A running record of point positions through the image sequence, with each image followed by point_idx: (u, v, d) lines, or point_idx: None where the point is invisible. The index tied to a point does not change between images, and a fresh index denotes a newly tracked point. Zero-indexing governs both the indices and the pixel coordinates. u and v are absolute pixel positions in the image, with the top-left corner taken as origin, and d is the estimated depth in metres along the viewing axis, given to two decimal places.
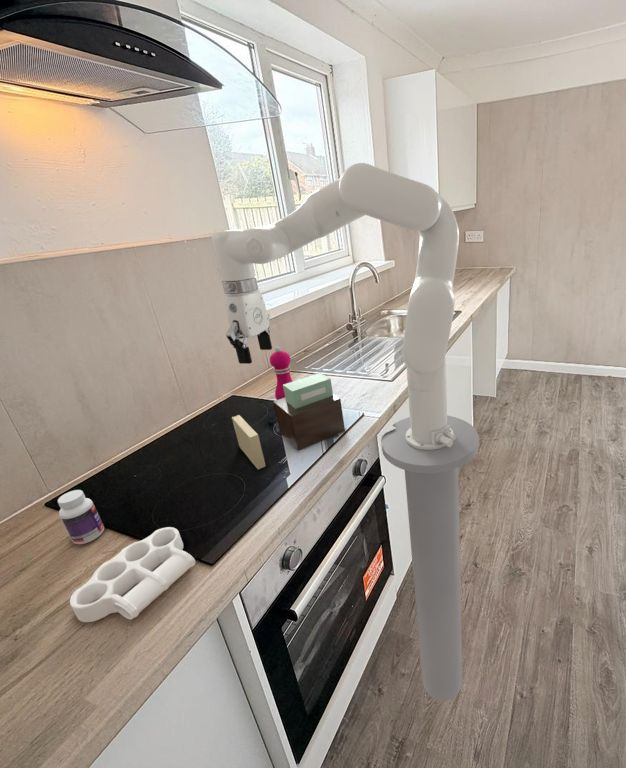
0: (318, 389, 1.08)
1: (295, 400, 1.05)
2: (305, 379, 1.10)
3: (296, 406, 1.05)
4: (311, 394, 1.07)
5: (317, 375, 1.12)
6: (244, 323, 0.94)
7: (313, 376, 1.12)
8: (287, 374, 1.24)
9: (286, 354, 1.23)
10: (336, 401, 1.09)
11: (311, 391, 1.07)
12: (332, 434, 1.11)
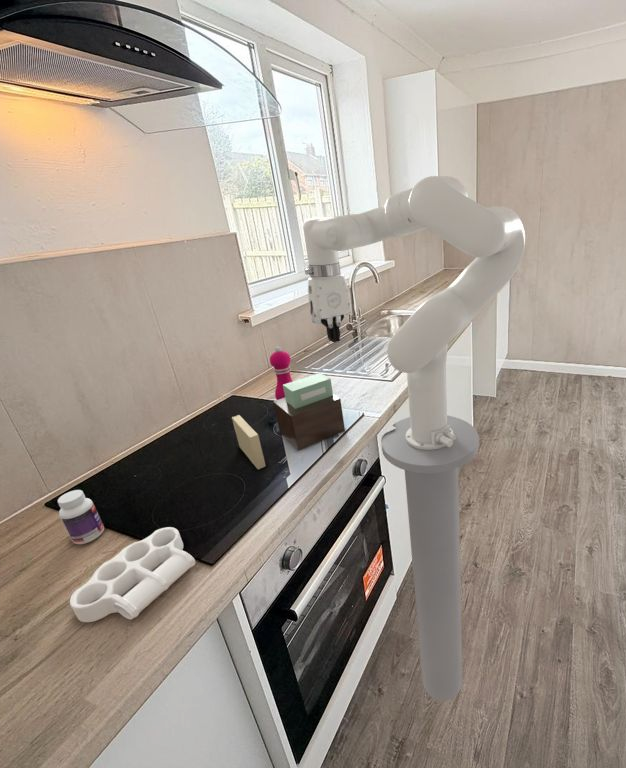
0: (318, 389, 1.08)
1: (295, 400, 1.05)
2: (305, 379, 1.10)
3: (296, 406, 1.05)
4: (311, 394, 1.07)
5: (317, 375, 1.12)
6: (315, 305, 1.02)
7: (313, 376, 1.12)
8: (287, 374, 1.24)
9: (286, 354, 1.23)
10: (336, 401, 1.09)
11: (311, 391, 1.07)
12: (332, 434, 1.11)
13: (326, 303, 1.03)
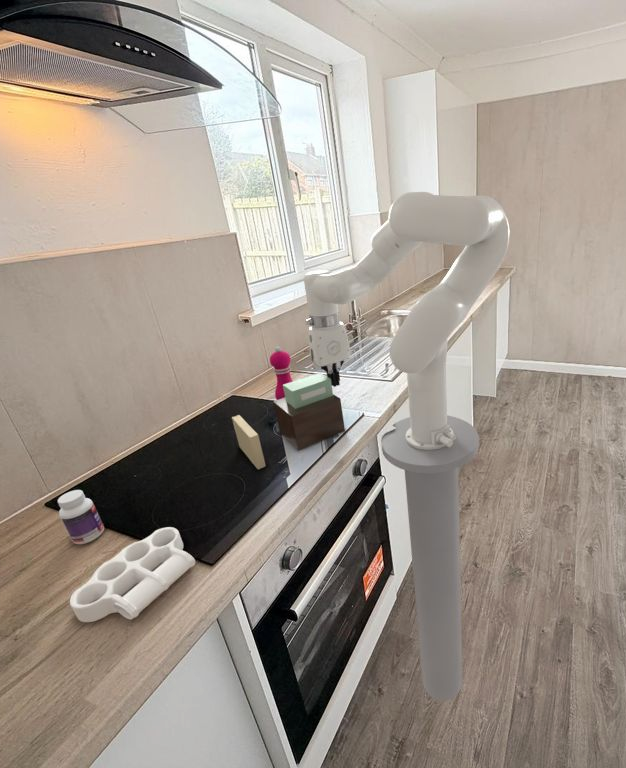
0: (318, 389, 1.08)
1: (295, 400, 1.05)
2: (305, 379, 1.10)
3: (296, 406, 1.05)
4: (311, 394, 1.07)
5: (317, 375, 1.12)
6: (316, 353, 1.06)
7: (313, 376, 1.12)
8: (287, 374, 1.24)
9: (286, 354, 1.23)
10: (336, 401, 1.09)
11: (311, 391, 1.07)
12: (332, 434, 1.11)
13: (326, 351, 1.07)
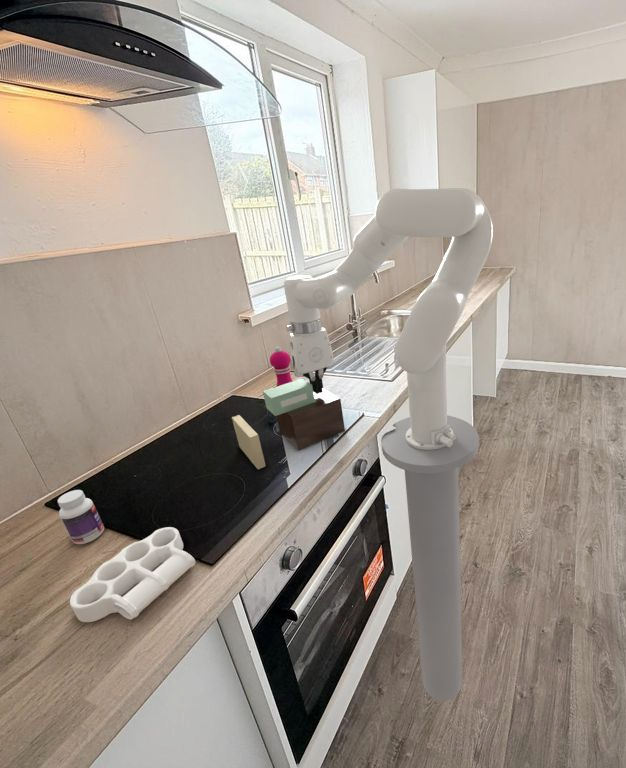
0: (299, 395, 1.05)
1: (275, 407, 1.02)
2: (286, 385, 1.07)
3: (276, 413, 1.02)
4: (292, 401, 1.04)
5: (299, 381, 1.09)
6: (297, 360, 1.03)
7: (294, 382, 1.09)
8: (287, 374, 1.24)
9: (286, 354, 1.23)
10: (336, 401, 1.09)
11: (291, 397, 1.04)
12: (332, 434, 1.11)
13: (308, 358, 1.04)
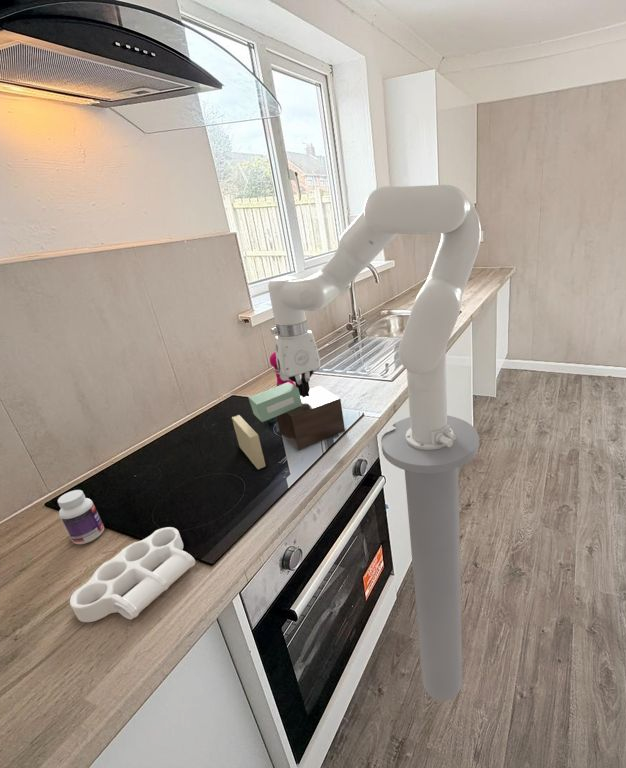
0: (285, 399, 1.03)
1: (261, 413, 1.00)
2: (272, 390, 1.05)
3: (262, 419, 1.01)
4: (278, 406, 1.02)
5: (285, 385, 1.07)
6: (282, 364, 1.01)
7: (281, 386, 1.07)
8: None
9: None
10: (336, 401, 1.09)
11: (277, 402, 1.02)
12: (332, 434, 1.11)
13: (293, 361, 1.02)
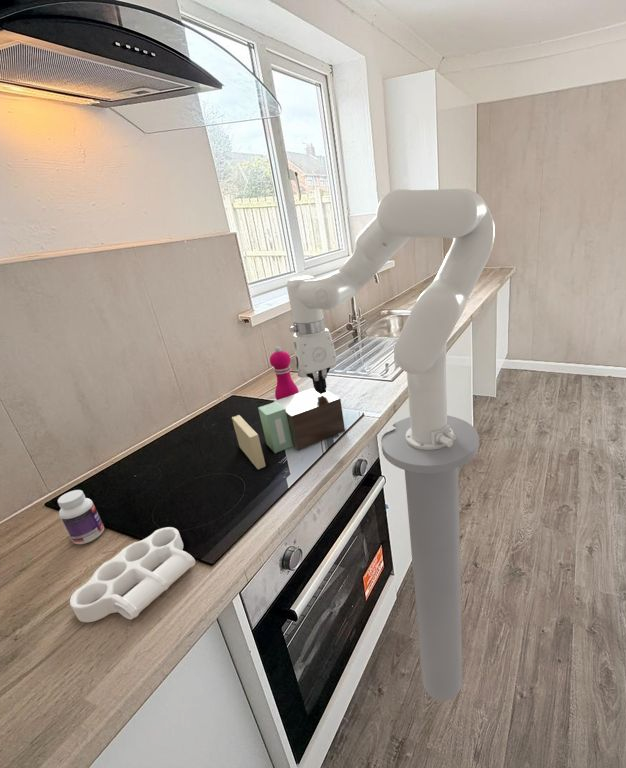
0: (276, 427, 1.04)
1: (284, 448, 1.07)
2: (263, 426, 1.07)
3: (290, 445, 1.08)
4: (281, 433, 1.05)
5: (260, 414, 1.05)
6: (300, 361, 1.03)
7: (261, 417, 1.06)
8: (287, 374, 1.24)
9: (286, 354, 1.23)
10: (336, 401, 1.09)
11: (277, 434, 1.04)
12: (332, 434, 1.11)
13: (311, 358, 1.04)
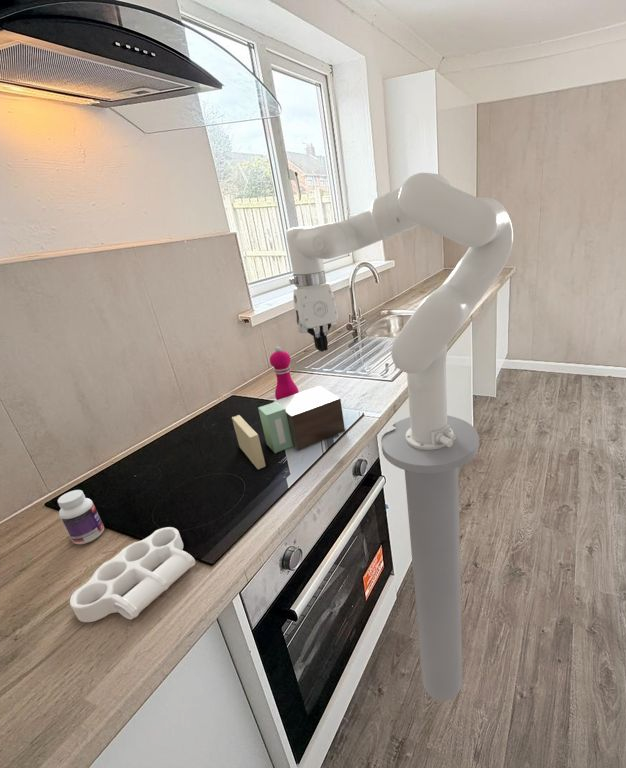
0: (276, 427, 1.04)
1: (284, 448, 1.07)
2: (263, 426, 1.07)
3: (290, 445, 1.08)
4: (281, 433, 1.05)
5: (260, 414, 1.05)
6: (301, 314, 1.01)
7: (261, 417, 1.06)
8: (287, 374, 1.24)
9: (286, 354, 1.23)
10: (336, 401, 1.09)
11: (277, 434, 1.04)
12: (332, 434, 1.11)
13: (312, 312, 1.02)
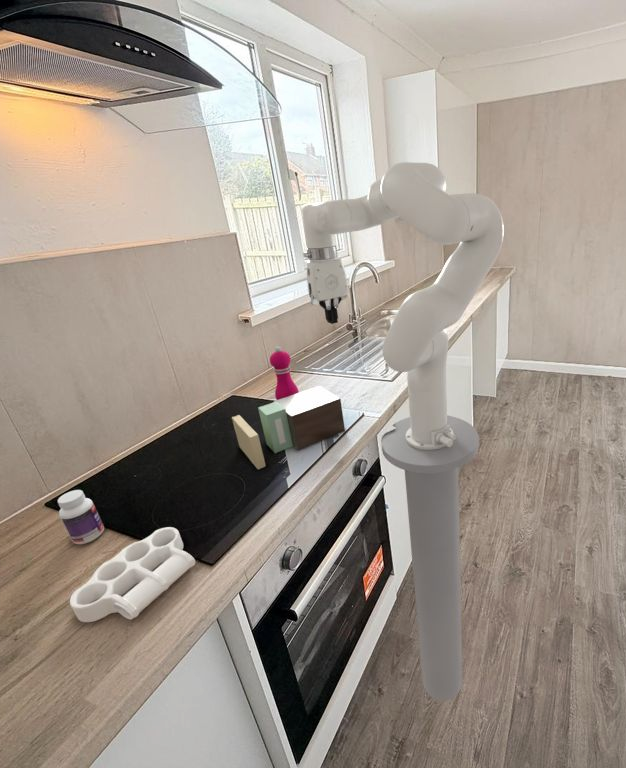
0: (276, 427, 1.04)
1: (284, 448, 1.07)
2: (263, 426, 1.07)
3: (290, 445, 1.08)
4: (281, 433, 1.05)
5: (260, 414, 1.05)
6: (314, 286, 1.06)
7: (261, 417, 1.06)
8: (287, 374, 1.24)
9: (286, 354, 1.23)
10: (336, 401, 1.09)
11: (277, 434, 1.04)
12: (332, 434, 1.11)
13: (324, 285, 1.07)
